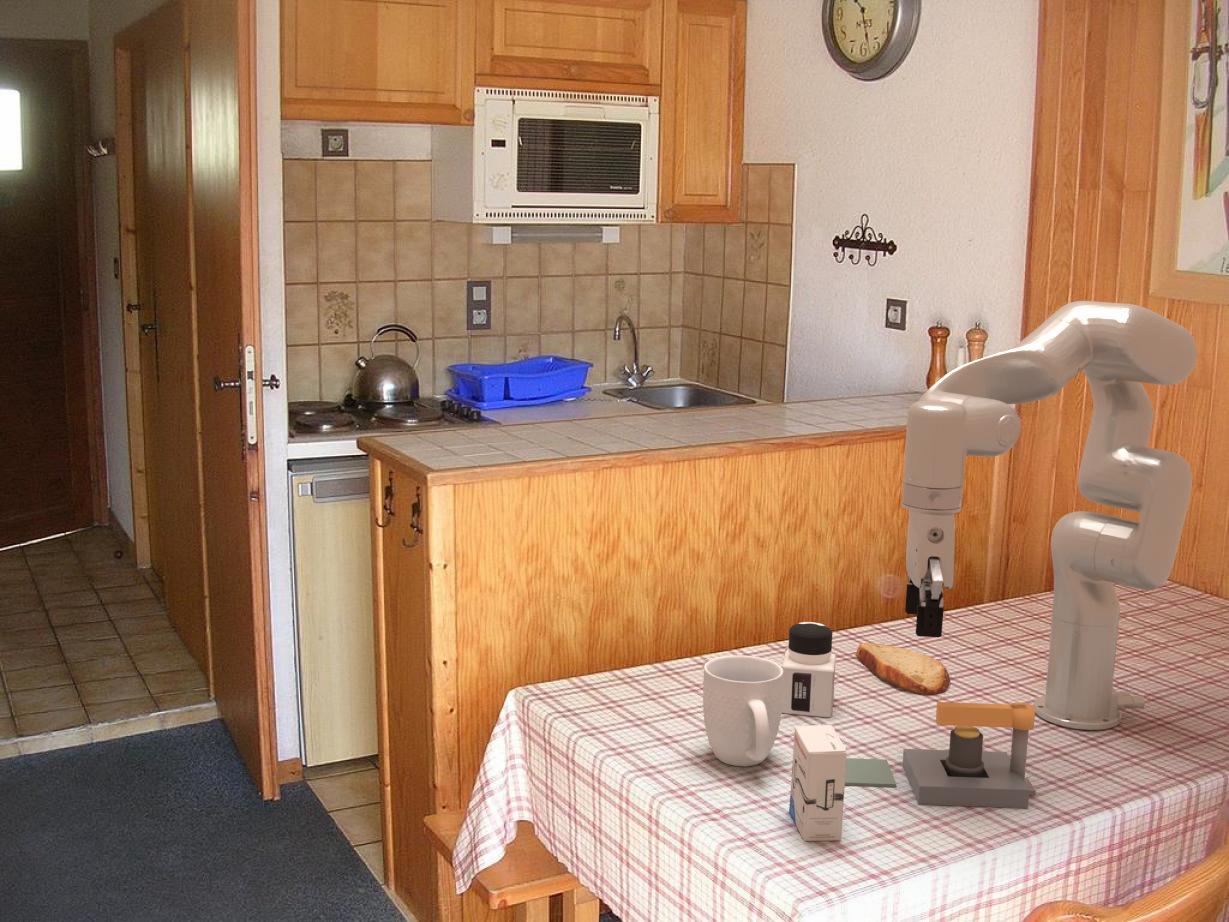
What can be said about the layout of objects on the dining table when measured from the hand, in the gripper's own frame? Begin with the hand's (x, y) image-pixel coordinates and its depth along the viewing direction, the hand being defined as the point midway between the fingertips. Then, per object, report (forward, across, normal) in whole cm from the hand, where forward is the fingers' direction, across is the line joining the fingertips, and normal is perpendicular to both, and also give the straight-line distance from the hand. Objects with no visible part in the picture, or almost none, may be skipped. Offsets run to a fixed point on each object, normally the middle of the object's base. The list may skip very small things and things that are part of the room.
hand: (922, 624), depth 172 cm
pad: (+22, +2, +6) cm, 23 cm away
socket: (+22, -1, -7) cm, 23 cm away
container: (+22, +26, +12) cm, 36 cm away
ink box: (+22, -14, +14) cm, 30 cm away
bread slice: (+22, +43, -4) cm, 49 cm away
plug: (+22, -1, -7) cm, 23 cm away
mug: (+22, +4, +22) cm, 32 cm away
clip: (+13, -1, -9) cm, 16 cm away
